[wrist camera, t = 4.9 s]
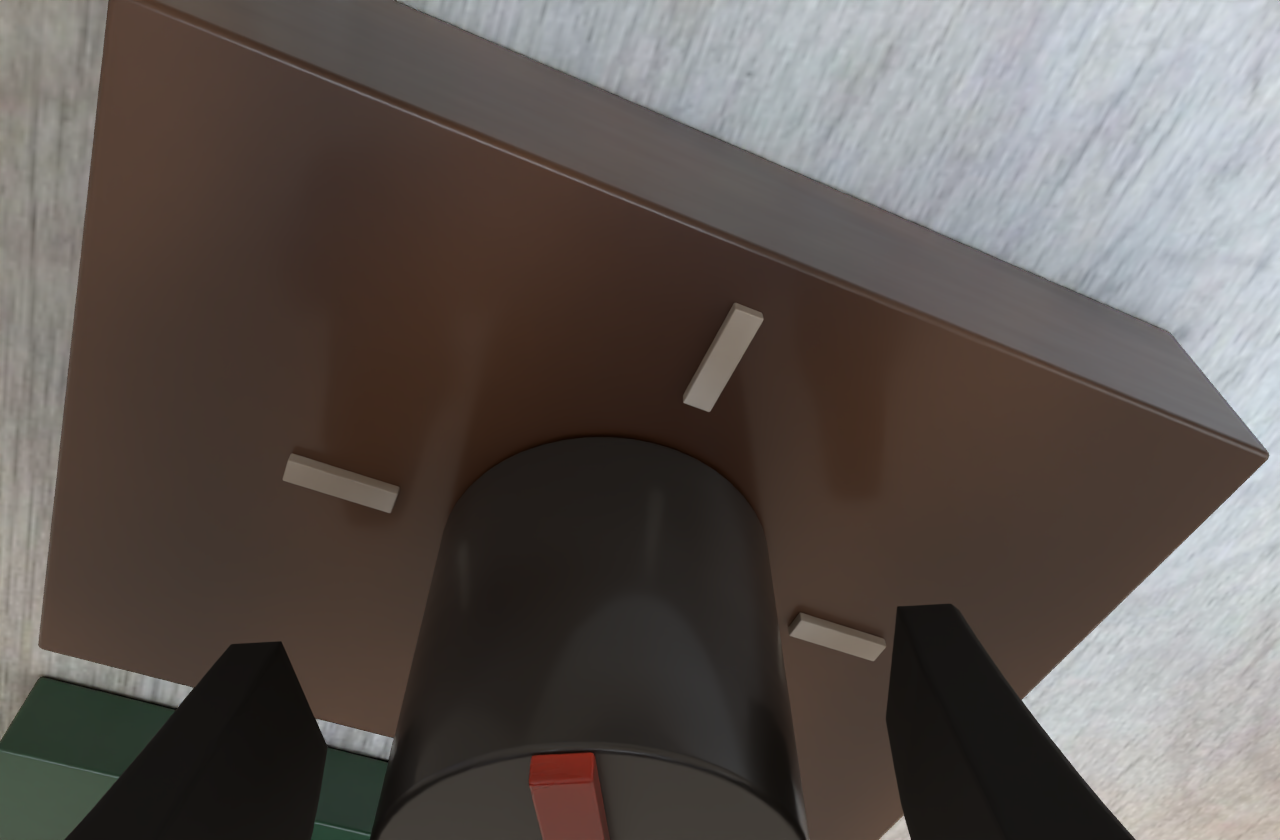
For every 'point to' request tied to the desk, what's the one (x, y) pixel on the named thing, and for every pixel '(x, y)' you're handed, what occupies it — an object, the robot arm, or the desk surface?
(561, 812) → the rotary knob
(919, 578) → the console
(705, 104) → the desk surface
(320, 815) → the button box
